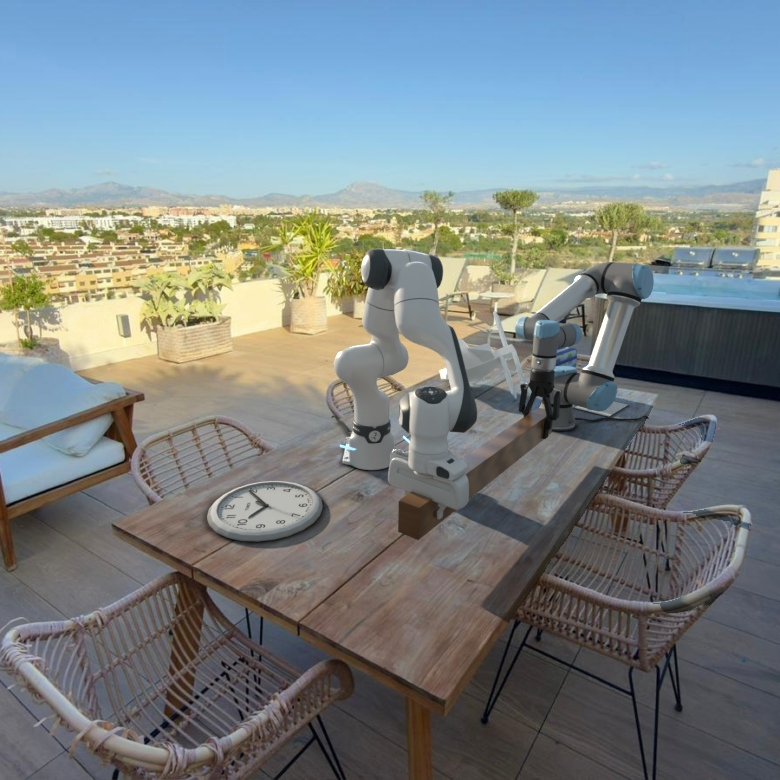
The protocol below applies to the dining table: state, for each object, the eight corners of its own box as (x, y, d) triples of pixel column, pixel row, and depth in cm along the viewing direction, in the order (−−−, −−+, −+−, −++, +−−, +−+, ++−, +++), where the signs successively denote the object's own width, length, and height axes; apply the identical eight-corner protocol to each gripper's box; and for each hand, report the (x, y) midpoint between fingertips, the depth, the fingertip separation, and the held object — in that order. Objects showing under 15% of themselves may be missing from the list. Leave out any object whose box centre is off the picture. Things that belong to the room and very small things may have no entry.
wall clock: (320, 533, 126) (192, 537, 124) (320, 539, 127) (193, 543, 124) (324, 476, 155) (220, 479, 152) (324, 481, 155) (221, 484, 153)
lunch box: (548, 399, 235) (554, 353, 228) (527, 393, 242) (532, 349, 236) (576, 387, 252) (581, 345, 246) (555, 383, 259) (560, 341, 253)
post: (535, 429, 182) (538, 407, 180) (551, 433, 179) (553, 410, 177) (397, 531, 119) (398, 500, 117) (418, 540, 116) (419, 507, 114)
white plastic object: (461, 429, 252) (437, 405, 227) (444, 352, 274) (420, 323, 250) (535, 404, 240) (518, 377, 215) (510, 326, 262) (492, 293, 237)
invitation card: (608, 416, 214) (573, 407, 224) (608, 416, 214) (573, 408, 224) (628, 404, 229) (594, 396, 238) (628, 405, 229) (594, 397, 238)
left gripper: (382, 450, 121) (382, 503, 125) (460, 476, 110) (456, 533, 114) (398, 442, 126) (397, 493, 130) (474, 466, 114) (470, 521, 119)
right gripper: (510, 366, 171) (505, 432, 178) (567, 376, 160) (559, 446, 167) (520, 361, 177) (515, 425, 184) (575, 371, 165) (567, 439, 173)
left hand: (425, 512), depth 122 cm, fingers closed on post, 5 cm apart
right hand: (536, 435), depth 175 cm, fingers closed on post, 6 cm apart
